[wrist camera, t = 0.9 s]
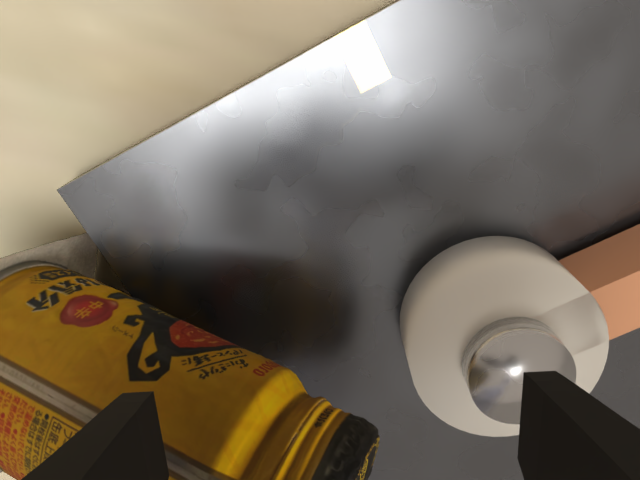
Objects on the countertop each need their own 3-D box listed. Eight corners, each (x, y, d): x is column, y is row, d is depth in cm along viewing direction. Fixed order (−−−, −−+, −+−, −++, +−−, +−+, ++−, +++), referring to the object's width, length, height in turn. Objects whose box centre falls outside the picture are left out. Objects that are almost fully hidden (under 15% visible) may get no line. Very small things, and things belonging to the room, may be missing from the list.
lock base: (818, 394, 23) (963, 502, 18) (348, 574, 27) (355, 709, 21) (672, -152, 17) (833, -232, 12) (74, 178, 20) (-11, 232, 15)
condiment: (98, 225, 21) (415, 360, 17) (76, 418, 24) (344, 567, 20) (-118, 289, 14) (320, 526, 11) (-112, 544, 17) (235, 797, 14)
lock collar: (441, 416, 21) (456, 463, 19) (370, 284, 20) (376, 318, 17) (772, 277, 19) (832, 310, 17) (728, 116, 18) (788, 129, 15)
